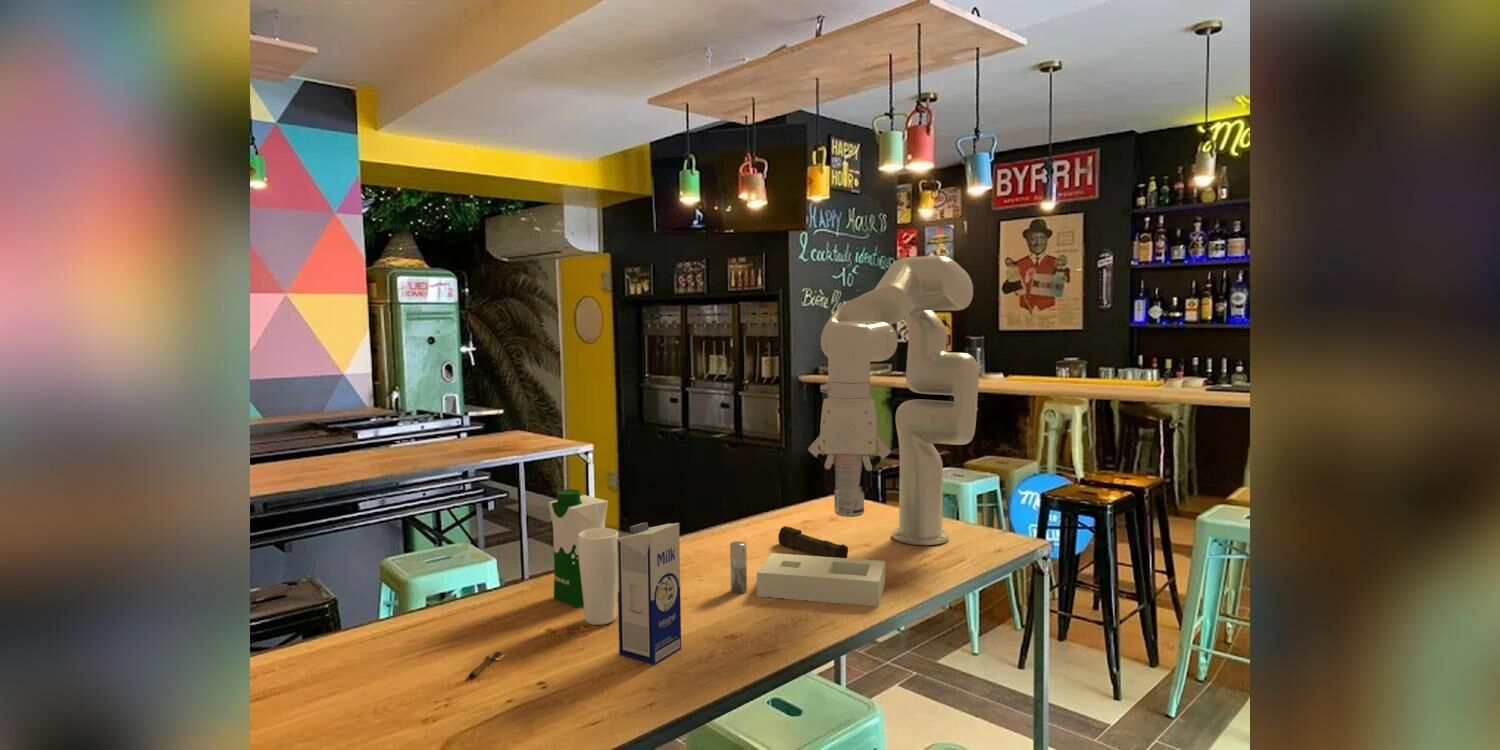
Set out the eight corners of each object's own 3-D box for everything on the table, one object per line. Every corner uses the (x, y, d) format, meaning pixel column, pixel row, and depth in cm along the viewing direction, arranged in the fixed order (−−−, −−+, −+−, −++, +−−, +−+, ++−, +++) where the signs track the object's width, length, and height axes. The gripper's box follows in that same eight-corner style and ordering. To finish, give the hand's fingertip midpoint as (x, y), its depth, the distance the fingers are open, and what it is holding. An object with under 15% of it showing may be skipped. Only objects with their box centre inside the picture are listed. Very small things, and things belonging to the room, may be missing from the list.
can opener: (474, 681, 115) (474, 673, 114) (460, 680, 115) (460, 672, 115) (509, 655, 123) (509, 648, 123) (496, 654, 124) (495, 646, 124)
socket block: (772, 575, 158) (771, 553, 158) (885, 584, 153) (885, 560, 152) (757, 596, 147) (756, 572, 146) (878, 606, 141) (878, 581, 141)
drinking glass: (586, 631, 132) (584, 541, 130) (575, 617, 137) (573, 531, 136) (626, 623, 135) (624, 535, 133) (613, 610, 141) (611, 525, 139)
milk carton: (653, 665, 118) (650, 532, 117) (618, 655, 122) (615, 526, 120) (682, 648, 124) (680, 521, 123) (648, 639, 128) (645, 515, 126)
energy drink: (866, 511, 149) (866, 447, 148) (860, 518, 144) (860, 452, 143) (838, 509, 151) (838, 445, 150) (831, 516, 146) (831, 450, 145)
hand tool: (849, 562, 167) (849, 540, 167) (836, 566, 164) (836, 543, 164) (788, 543, 182) (788, 522, 181) (774, 546, 179) (774, 525, 179)
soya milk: (546, 598, 146) (543, 490, 145) (587, 586, 153) (585, 482, 151) (574, 610, 140) (571, 498, 139) (616, 597, 147) (613, 489, 145)
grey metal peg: (733, 587, 151) (732, 540, 151) (748, 589, 151) (748, 541, 150) (728, 593, 149) (728, 545, 148) (744, 594, 148) (744, 546, 147)
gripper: (798, 393, 144) (799, 492, 146) (895, 394, 140) (895, 497, 141) (806, 388, 151) (806, 483, 153) (898, 390, 147) (898, 488, 148)
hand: (849, 489), depth 147 cm, fingers closed on energy drink, 5 cm apart
